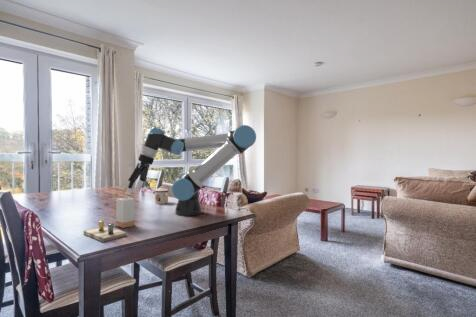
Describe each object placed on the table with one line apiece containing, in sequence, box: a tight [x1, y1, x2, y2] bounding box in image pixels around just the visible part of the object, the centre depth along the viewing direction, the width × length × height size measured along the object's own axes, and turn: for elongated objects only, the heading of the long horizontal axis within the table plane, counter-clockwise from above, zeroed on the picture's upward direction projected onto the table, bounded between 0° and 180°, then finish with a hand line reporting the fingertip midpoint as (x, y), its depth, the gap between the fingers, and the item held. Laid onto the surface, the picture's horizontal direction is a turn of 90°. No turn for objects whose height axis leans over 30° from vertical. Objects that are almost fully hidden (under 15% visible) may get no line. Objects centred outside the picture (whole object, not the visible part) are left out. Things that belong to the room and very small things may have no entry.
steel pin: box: [107, 222, 114, 234], centre depth 114 cm, size 2×2×4 cm
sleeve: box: [115, 196, 136, 229], centre depth 132 cm, size 6×6×13 cm
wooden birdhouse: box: [154, 185, 169, 205], centre depth 188 cm, size 12×9×12 cm
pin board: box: [83, 225, 127, 243], centre depth 117 cm, size 16×10×2 cm, turn 55°
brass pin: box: [98, 220, 105, 231], centre depth 119 cm, size 2×2×4 cm
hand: (132, 192), depth 145 cm, fingers open, 13 cm apart
